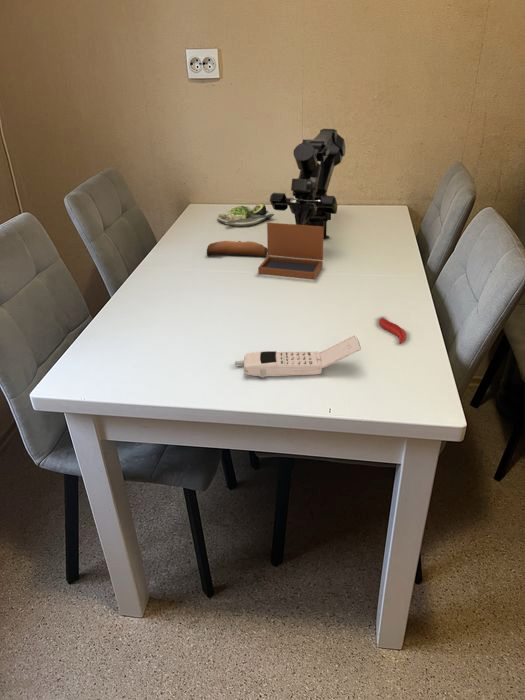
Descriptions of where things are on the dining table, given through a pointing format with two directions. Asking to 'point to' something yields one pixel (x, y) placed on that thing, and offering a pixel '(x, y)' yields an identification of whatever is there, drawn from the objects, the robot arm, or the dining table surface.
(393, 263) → the dining table surface
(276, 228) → the cover
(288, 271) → the wooden box
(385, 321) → the cayenne pepper
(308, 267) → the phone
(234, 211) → the salad plate
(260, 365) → the mobile phone
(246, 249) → the sunglasses case
